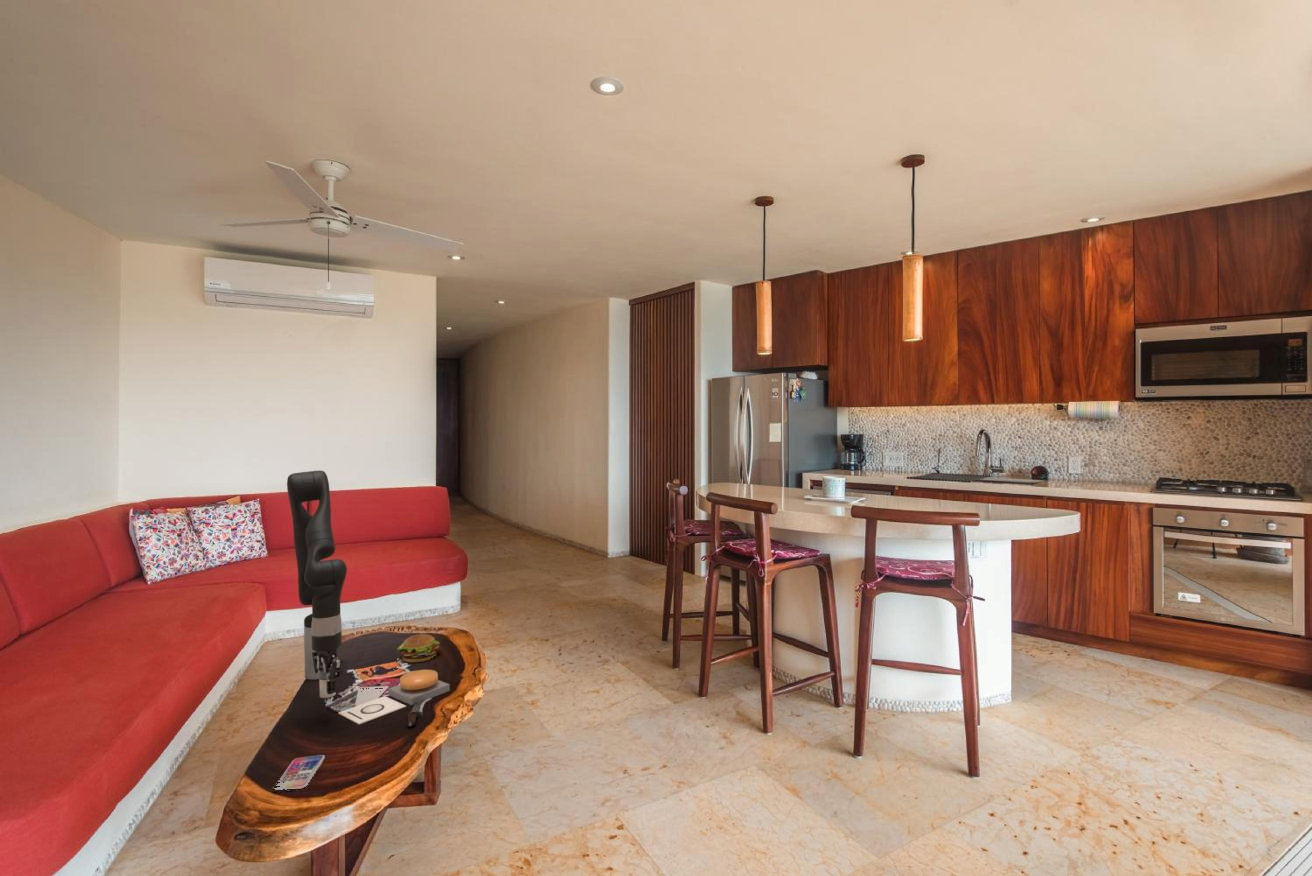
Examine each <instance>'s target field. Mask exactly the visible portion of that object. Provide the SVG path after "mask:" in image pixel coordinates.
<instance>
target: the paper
mask: <svg viewBox="0 0 1312 876" xmlns="http://www.w3.org/2000/svg"><path fill="white" fill-rule="evenodd" d="M406 707H407V705H406V704H402V703H401V702H398V701H397V700H395V699H392V698H390V697H387V696H385V695H384V696H381V697H380V698H378V699H375V700H372V701H369V702H367V703H364V704H361V705H358V706H355V705H354V706H352V708H350V709H347V710H344V711H340V712H338V713H337V714H338V715H340V716H342V717H344V718H346V719H348V720H350V721H351V722H353V723H356V724H357V725H361V724H364V723H367V722H369V721H372V720H374V719H378V718H380V717H382V716H385V715H388V714H391V713H393V712H396V711H398V710H401V709H403V708H406Z"/></svg>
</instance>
